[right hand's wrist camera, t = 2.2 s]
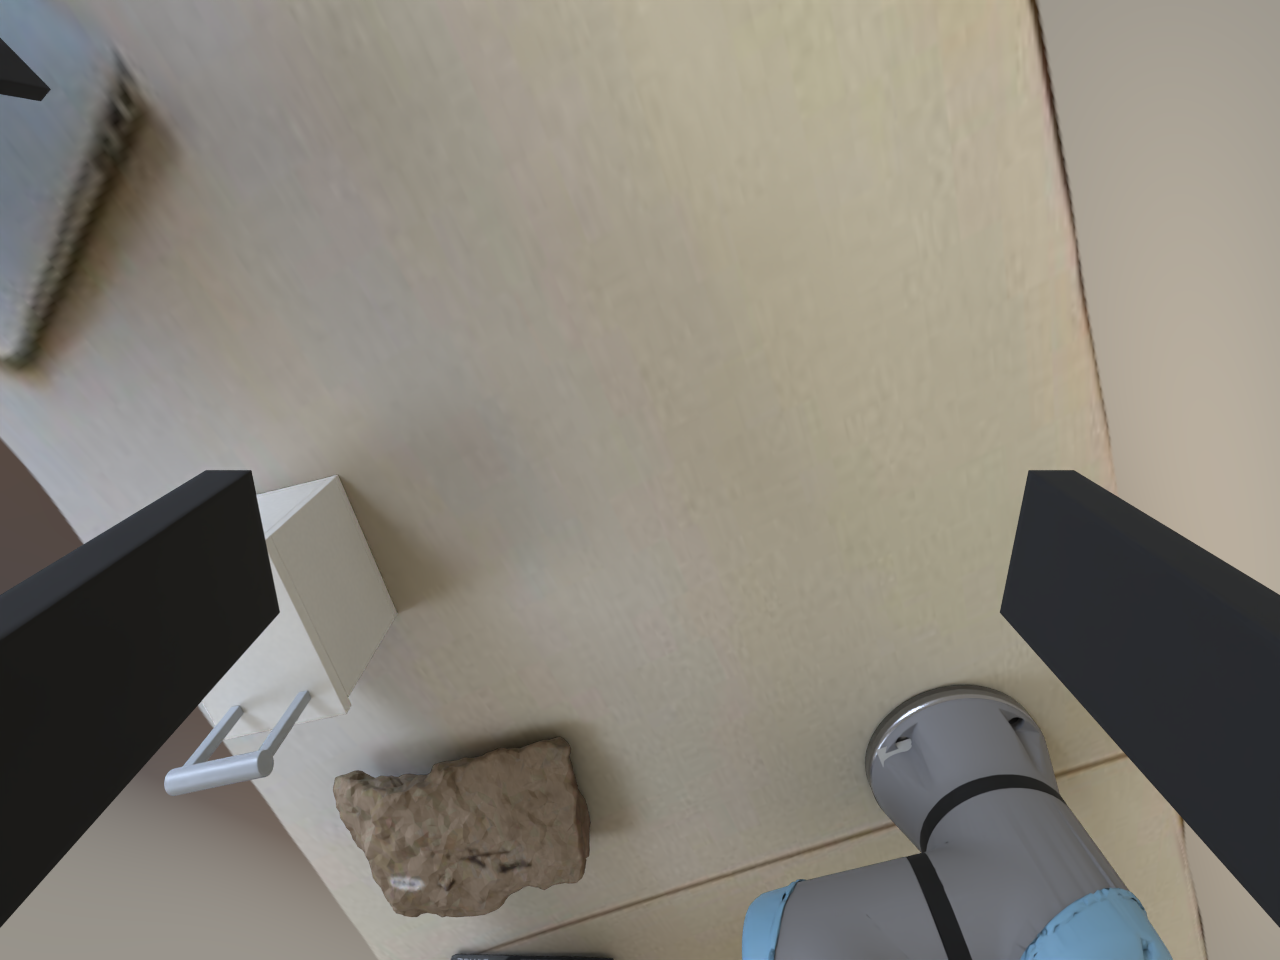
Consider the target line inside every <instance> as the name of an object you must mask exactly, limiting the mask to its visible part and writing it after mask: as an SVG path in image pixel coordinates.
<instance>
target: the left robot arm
mask: <svg viewBox="0 0 1280 960" xmlns="http://www.w3.org/2000/svg"><path fill="white" fill-rule="evenodd" d="M50 90H51V89H50V88H49V87H48V86H47V85H46V84H45V83H44V82H43V81H42V80H41V79H40V78H39V77H38V76H37V75H36V74H35V73H34V72H33V71H32V70H31V69H30V68H29V67H28V66H27V65H26V64H25V63H24V62H23V60H22V59H21V58H20V57H19V56H18V55H17V54H16V53H15V52H14V51H13V50H12V49H11V48H10V47H9V46H8V45H7V44H6V43H5V42H4V41H3V40H2V39H1V38H0V94H2V95H8V96H14V97H20V98H26V99H31V100H37V101H41V100H42V99H43V98H44V97H45V96H46V94H47V93H48V92H49V91H50Z"/></svg>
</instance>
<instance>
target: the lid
mask: <svg viewBox="0 0 1280 960" xmlns="http://www.w3.org/2000/svg"><path fill="white" fill-rule="evenodd" d="M265 540H266V545H267V550H268V555H269V560H270V565H271V570H272V575H273V580H274V585H275V590H276V595H277V600H278V605H279V610H280V613H279V614H278V615H277V617H276V618H275V619H274V620H273V621H272V622H271V623H270V624H269V626H268V627H267V628H266V629H265V630H264V631H263V632H262V633H261V635H260V636H259V637H258V638H257V639H256V640H255V641H254V642H253V644H252V645H251V646H250V647H249V648H248V649H247V650H246V651H245V653H244V654H243V655H242V656H241V657H240V658H239V659H238V660H237V662H236V663H235V664H234V665H233V666H232V667H231V668H230V669H229V671H228V672H227V673H226V674H225V675H224V676H223V677H222V679H221V680H220V681H219V682H218V683H217V684H216V685H215V686H214V688H213V689H212V690H211V691H210V692H209V693H208V694H207V695H206V697H205V698H204V699H203V700H202V703H203V705H204V707H205V708H206V710H207V712H208V714H209V715H210V717H211V719H212V721H213V723H214V724H215V728H214V729H213V730H212V731H211V733H210V734H209V735H208V736H207V738H206V739H205V740H204V741H203V742H202V744H201V745H200V746H199V747H198V749H197V750H196V751H195V752H194V753H193V755H192V756H191V757H190V758H189V760H188V761H187V762H186V763H185V765H184V766H183V767H180V768H175V769H172V770H171V771H169V772H168V774H167V775H166V778H165V782H164V786H165V790H166V792H167V793H168V794H169V795H171V796H176V795H181V794H185V793H190V792H195V791H200V790H205V789H209V788H214V787H219V786H223V785H229V784H233V783H238V782H243V781H248V780H252V779H257V778H262V777H266V776H268V775H269V774H270V773H271V772H272V770H273V765H274V760H273V756H274V754H275V753H276V751H277V750H278V748H279V747H280V745H281V744H282V742H283V741H284V739H285V738H286V736H287V735H288V733H289V732H290V730H291V729H292V727H293V726H294V725H297V724H302V723H307V722H311V721H316V720H321V719H325V718H330V717H334V716H339V715H344V714H347V712H348V711H349V709H350V707H351V703H350V701H349V699H348V697H347V695H346V693H345V691H344V688H343V686H342V684H341V682H340V680H339V678H338V676H337V674H336V672H335V670H334V668H333V665H332V663H331V661H330V659H329V657H328V655H327V653H326V651H325V649H324V647H323V645H322V643H321V640H320V638H319V636H318V634H317V632H316V630H315V628H314V626H313V624H312V622H311V620H310V618H309V615H308V613H307V611H306V609H305V607H304V605H303V603H302V601H301V599H300V597H299V595H298V592H297V590H296V588H295V586H294V584H293V582H292V580H291V578H290V576H289V574H288V572H287V570H286V567H285V565H284V563H283V561H282V559H281V557H280V555H279V553H278V551H277V549H276V547H275V545H274V542H273V540H272V538H271V536H267V537H265ZM269 730H272V731H271V733H270V734H269V736H268V737H267V738H266V740H265V741H264V743H263V744H262V746H261V747H260V749H259V750H258V751H255V752H250V753H246V754H241V755H236V756H231V757H227V758H222V759H218V760H213V761H208V762H206V761H207V760H208V759H209V757H210V756H211V755H212V754H213V752H214V751H215V750H216V748H217V747H218V746H219V745H220V743H221V742H222V741H223V740H227V739H232V738H237V737H241V736H246V735H251V734H255V733H260V732H265V731H269Z"/></svg>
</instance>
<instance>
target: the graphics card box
mask: <svg viewBox="0 0 1280 960" xmlns="http://www.w3.org/2000/svg"><path fill="white" fill-rule="evenodd" d="M451 960H614V959H613V958H577V957H548V956H547V957H545V956H510V955H476V954H468V955H467V954H455V955H453V956H452V958H451Z"/></svg>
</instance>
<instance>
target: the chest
mask: <svg viewBox="0 0 1280 960" xmlns="http://www.w3.org/2000/svg"><path fill="white" fill-rule="evenodd" d="M256 496H257V501H258V506H259V511H260V516H261V521H262V526H263V531H264V536H265V537H267V536H271V538H272V540H273V542H274V545H275V547H276V549H277V551H278V553H279V555H280V557H281V559H282V561H283V563H284V565H285V567H286V570H287V572H288V574H289V576H290V578H291V580H292V582H293V584H294V586H295V588H296V590H297V592H298V595H299V597H300V599H301V601H302V603H303V605H304V607H305V609H306V611H307V613H308V615H309V618H310V620H311V622H312V624H313V626H314V628H315V630H316V632H317V634H318V636H319V638H320V640H321V643H322V645H323V647H324V649H325V651H326V653H327V655H328V657H329V659H330V661H331V663H332V665H333V668H334V670H335V672H336V674H337V676H338V678H339V680H340V682H341V684H342V686H343V688H344V691H345V693H346V695H347V697H349V695H350V694H351V692H352V690H353V688H354V687H355V685H356V683H357V682H358V680H359V678H360V677H361V675H362V673H363V672H364V670H365V668H366V666H367V665H368V663H369V661H370V660H371V658H372V656H373V655H374V653H375V651H376V650H377V648H378V646H379V644H380V643H381V641H382V639H383V638H384V636H385V634H386V633H387V631H388V629H389V627H390V626H391V624H392V622H393V621H394V619H395V617H396V615H397V611H396V609H395V607H394V604H393V602H392V600H391V597H390V595H389V593H388V590H387V588H386V586H385V583H384V581H383V579H382V576H381V574H380V572H379V569H378V567H377V565H376V562H375V560H374V558H373V555H372V553H371V551H370V548H369V546H368V544H367V541H366V539H365V537H364V534H363V532H362V530H361V527H360V525H359V523H358V520H357V518H356V516H355V513H354V511H353V509H352V506H351V504H350V502H349V499H348V497H347V495H346V492H345V490H344V488H343V485H342V483H341V481H340V478H339V476H338V475H335V476H331V477H327V478H323V479H319V480H315V481H311V482H307V483H303V484H298V485H294V486H290V487H286V488H282V489H278V490H274V491H270V492H266V493H262V494H258V495H256Z"/></svg>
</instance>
